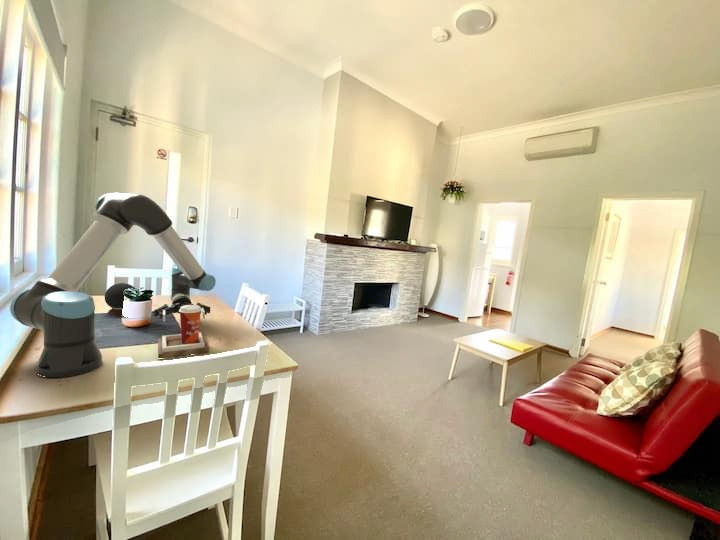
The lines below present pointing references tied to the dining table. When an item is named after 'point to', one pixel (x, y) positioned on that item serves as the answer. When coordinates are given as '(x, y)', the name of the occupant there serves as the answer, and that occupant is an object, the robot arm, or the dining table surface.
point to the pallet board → (180, 346)
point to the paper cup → (190, 323)
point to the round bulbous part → (116, 298)
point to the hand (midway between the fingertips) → (184, 316)
